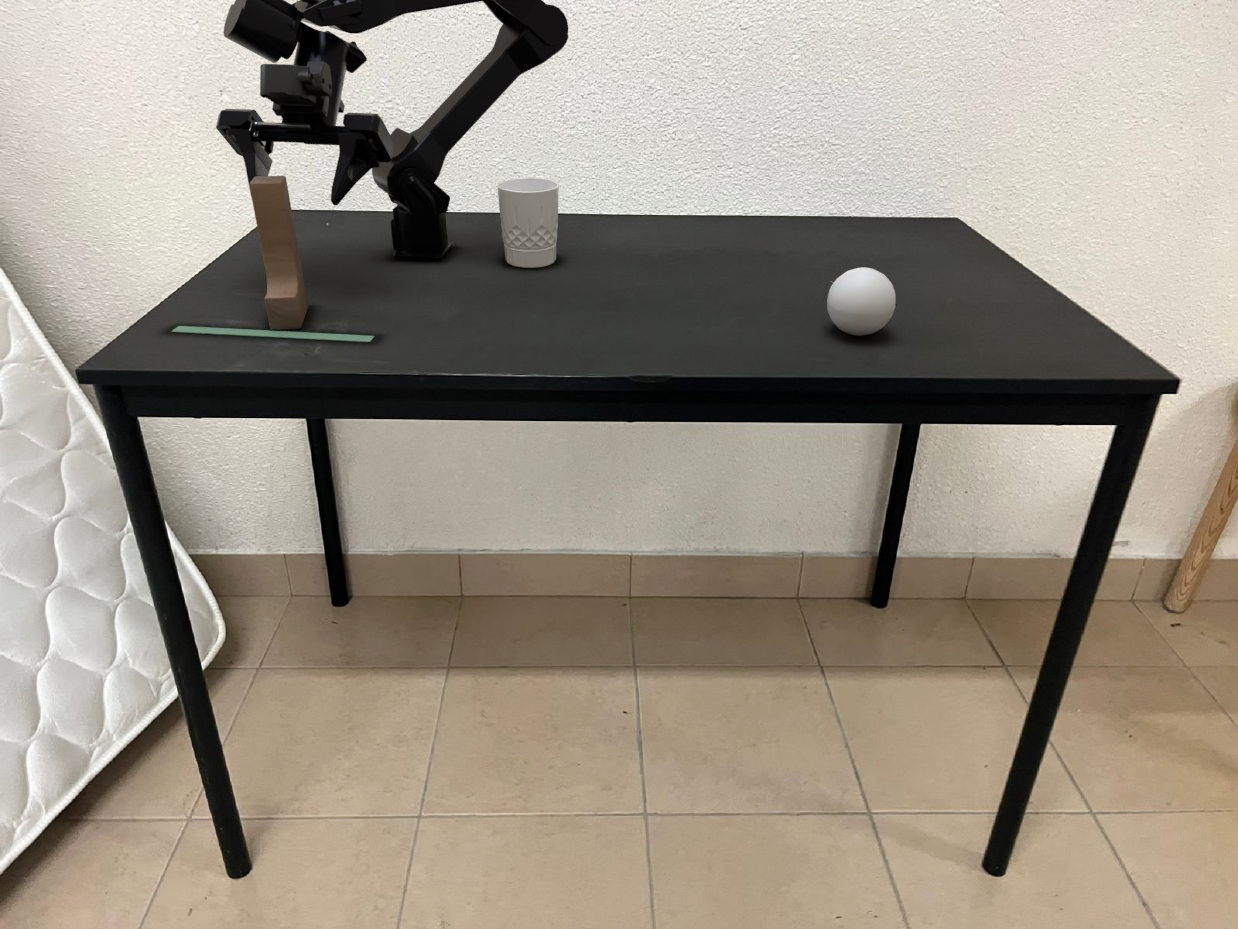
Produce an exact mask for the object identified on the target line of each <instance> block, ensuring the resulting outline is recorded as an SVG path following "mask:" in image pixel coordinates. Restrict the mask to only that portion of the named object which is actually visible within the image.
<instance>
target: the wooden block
mask: <svg viewBox="0 0 1238 929" xmlns="http://www.w3.org/2000/svg"><path fill="white" fill-rule="evenodd" d="M287 182H288V181H287V176H285V175H268V176H256V177H254V178H253V180H252V181H251V182H250V184H249V183H248V187H249V186H250V188H249V192H250V191H251V194H250V198H251V197H252V198H251V202H252V206H253V212H254V216H255V222H256V227H257V233H258V238H259V243H260V248H261V253H262V259H263V264H264V270H265V277H266V285H267V287H266V294H265V296H264V298H263V299H264V304H265V305H264V306H265V309H266V314H267V320H268V325H269V329H270V331H283V330H299V329H302V327H303V323H304V320H305V317H306V314H307V312H308V309H309V304H308V298H307V294H306V293H307V292H306V287H305V281H304V274H303V268H302V262H301V257H300V252H299V246H298V239H297V233H296V229H295V222H294V216H293V211H292V205H291V199H290V192H289V186H288V183H287Z"/></svg>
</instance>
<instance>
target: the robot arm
mask: <svg viewBox="0 0 1238 929" xmlns="http://www.w3.org/2000/svg"><path fill="white" fill-rule="evenodd" d="M481 2H482V3H484V5H485V6H486V7H487V9H488V10H489V11H490V12H491V13H492V15H493V16H494V17H495V18H496V19H497V20H498V21H499V22H500V23H502V24H501V26H500V28H499V29H498V33H497V35H496V39H495V42H494V45H493V46H492V49H491V50H490V51H489V52H488V54H486V56H485V57H484V58H483V59H482V60H481V61H480V62H479V63H478V64H477V65H476V66H475V68H474V69H473V70H472V71H471V72H470V73H469V74H468V75H467V76H466V77H465V79H463V80H462V81H461V83H459V85H458V86H457V87H456V88H455V89H454V90H453V91H452V92H451V93H450V94H449V95H448V97H447V98H445V100H444V101H443V102H442V103H441V104H440V105H439V106H438V107H437V109H436V110H434V112H432V113H431V115H430V116H429V117H428V118H427V119H426V120H425V121H424V122H423V124H422V125H421V126H420V127H418V128H417V129H415V130H413V131H411V132H407V131H405V130H404V129H401V128H399V127H396V128H394V129H393V131H392V132H391V134H390V132H389V130H388V128H387V126H386V124H385V121H384V120H383V119H382V117H381V116H380V115H379V114H378V113H373V112H371V113H369V112H366V113H365V112H347V113H345V114H344V115H343V118H342V119H343V121H342V124H343V125H337V122H338V116H339V114H343V113H344V112H345V106H346V105H345V103H344V101H343V99H342V94H343V89H344V83H345V79H346V72H348V73H350V74H354V73H355V72H356V71H358V70H359V68H361V67H362V66H363V65H364V64H365V63H366V61H367V60H368V58H367V56H366V55H365V53H364V51H363V50H362V49H360V48H359V47H358V44H357V42H356V41H350V42H349V41H346V40H345V39H343V38H341V37H339V36H338V35H336V34H335V33H333V32H331V31H330V30H326V31H324V30H323V31H322V30H319V29H316V28H314V27H312V26H309V25H307V24H310V25H314V26H317V27H321V28H322V27H323V28H324V27H328V28H331V29H333V30H336V31H337V30H338V31H340V32H344V33H348V34H356V35H357V34H362V33H365V32H367V31H369V30H373V29H374V28H377V27H380V26H383V25H384V24H387V23H388V22H390V21H392V20H394V19H395V18H397V17H400V16H403V15H407V14H412V13H417V12H418V13H419V12H425V11H430V10H431V11H432V10H437V9H442V8H448V7H454V6H461V5H467V4H473V3H481ZM223 37H224V38H226V39H228V40H229V41H232V42H233V43H235V44H237V45H239V46H240V47H243V48H245V49H246V50H248V51H250V52H252V53H254V54H256V55H257V56H260V57H262V58H263V59H265V60H267V61H269V62H271V63H262V64H260V68H259V70H260V71H259V72H260V76H259V96H260V97H261V98H263V99H265V98H266V99H267V100H269V101H270V102H272V108H271V110H272V111H273V113H274V114H275V115H276V117H281V122H268V121H264V120H263V119H262V117H261V116H260V114H259V113H258V112H257V110H256V109H251V108H250V109H249V108H247V109H246V108H245V109H244V108H225V109H222V110H220V112H219V114H218V116H217V121H216V125H215V129H216V130H217V131H218V132H219V134H220V135H221V136H222V138H224V140H225V141H226V142H227V143H228V144H229V146H230V147H231V148H232V150H233V151H234V152H235V153H236V154H237V155H239V156H240V157H242V159H243V162H244V166H245V172H246V177H247V183H248V188H249V189H250V186H249V184H250V182H251V181H252V180H253V178H254V177H256V176H269V175H270V171H271V168H272V165H273V159H272V157H271V156H270V155H271V154H272V153H273V151H274V146H275V144H274V143H296V144H297V143H299V144H304V145H318V146H320V145H323V146H338V147H339V154H338V158H337V164H336V168H335V171H334V176H333V181H332V185H331V193H330V202H331V203H332V205H333V206H338V205H339V204H340V203H341V201H342V200H343V199H344V198H345V197H346V196H347V195H348V194H349V192H350V191H351V190H352V189H353V187H354V186H356V184H357V183H358V182H359V181H360V180H361V179H362V178H363V177H364V176H365V175H366V174H367V173H369V171H370V170H371V175H372V178H373V181H374V183H375V185H376V186H377V187H378V188H379V189H380V190H382V191H383V192H384V193H386V194H387V196H388V198H389V201H390V202H391V203H393V204H395V205H396V206H395V207H393V208H392V218H391V219H390V220H389V224H390V231H391V242H392V249H393V250H394V251H395V252H394V253H393V259H398V260H399V259H400V260H421V261H422V260H423V261H441V260H442V259H443V258H444V257H445V256H446V255H447V253H448V252H449V251H450V250H451V249H452V247H453V244H452V243H451V242H449V241H448V240H449V238H448V229H447V216H446V214H447V212H448V210H449V205H450V201H451V196H450V195H449V194H448V193H446V192H445V191H444V190H443V189H442V188H441V187H440V186H438V185H437V184H436V181H437V179H438V178H439V176H440V174H441V173H442V169H443V166H444V163H445V160H446V158H447V156H448V154H449V152H450V151H451V150H452V149H453V148H454V147H455V146H456V145H457V144H458V143H459V142H460V141H461V140H462V139H463V137H464V136H465V135H466V134H467V133H468V132H469V131H470V130H471V128H473V127H474V125H475V124H476V123H477V122H478V121H479V120H480V119H481V118H482V116H484V114H485V113H486V112H487V111H489V109H490V108H491V107H492V106H493V105H494V104H495V102H497V100H499V98H500V97H502V95H503V94H504V93H505V92H506V91H507V89H509V88H510V87H511V85H512V84H513V83H514V82H515V81H516V80H517V79H518V78H519V77H520V76H522V75H523V74H524V73H527V72H528V71H530V70H533V69H534V68H537V67H539V66H541V65H542V64H544V63H545V62H547V61H548V60H549V59H551V58H552V57H554V56H555V55H556V54H557V53H559V52H560V51H561V50H563V49H564V47H565V46H566V44H567V42H568V40H569V23H568V19H567V17H566V15H565V13H564V12H563V10H561V8H560V7H559V6H556V5H554V4H549V3H546V2H544V0H296V1H295V2H293V3H290V2H288V1H286V0H235V1H234V3H233V4H230V6H229V9H228V12H227V15H226V18H225V22H224V26H223ZM294 52H295V55H294V61H293V64H287V63H286V64H283V63H278V61H280V59H281V58H282V59H284V60H286V61H287V60H289V59H290V58H291V57H292V55H293V54H294ZM249 193H250V195H251V191H250V190H249ZM250 198H251V199H252V197H251V196H250Z"/></svg>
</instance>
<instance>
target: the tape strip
mask: <svg viewBox="0 0 1238 929" xmlns="http://www.w3.org/2000/svg"><path fill="white" fill-rule="evenodd" d="M170 333H179V334H196V335H197V334H199V335H201V334H202V335H218V336H238V337H255V338H276V339H277V338H278V339H292V340H293V339H294V340H298V339H299V340H318V341H331V342H332V341H335V342H336V341H337V342H353V343H371V342H372V340H373V339H374V338H375V335H363V334H346V333H345V334H343V333H325V332H324V333H323V332H308V331H307V332H306V331H289V330H288V331H286V330H284V331H283V330H265V329H247V328H228V327H227V328H226V327H210V326H209V327H208V326H207V327H205V326H187V325H178V326H176V327H175V328H173V329H172V330H171V332H170Z"/></svg>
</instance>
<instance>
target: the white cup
mask: <svg viewBox="0 0 1238 929" xmlns="http://www.w3.org/2000/svg"><path fill="white" fill-rule="evenodd" d="M496 186H497V196H498V208H499V219H500V227H501V228H500V229H501V235H502V236H501V237H502V242H503V248H504V260H505V261H506V263H507V264H508V265H510V266H513V267H517V268H524V269H536V268H542V267H543V268H544V267H547V266H550V265H553V264H554V263H555V262H556V261H557V240H558V228H559V227H558V226H559V198H560V196H559V195H560V194H559V193H560V184H559V182H557V181H555V180H553V179H550V178H542V177H515V178H509V179H504V180H502V181H499V182H498V183H497V185H496Z"/></svg>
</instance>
